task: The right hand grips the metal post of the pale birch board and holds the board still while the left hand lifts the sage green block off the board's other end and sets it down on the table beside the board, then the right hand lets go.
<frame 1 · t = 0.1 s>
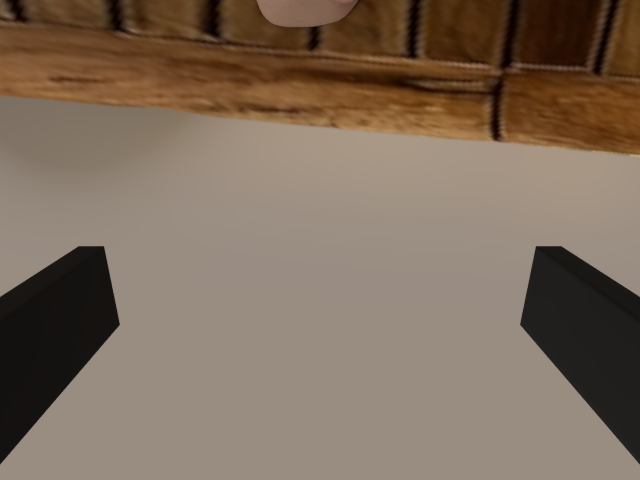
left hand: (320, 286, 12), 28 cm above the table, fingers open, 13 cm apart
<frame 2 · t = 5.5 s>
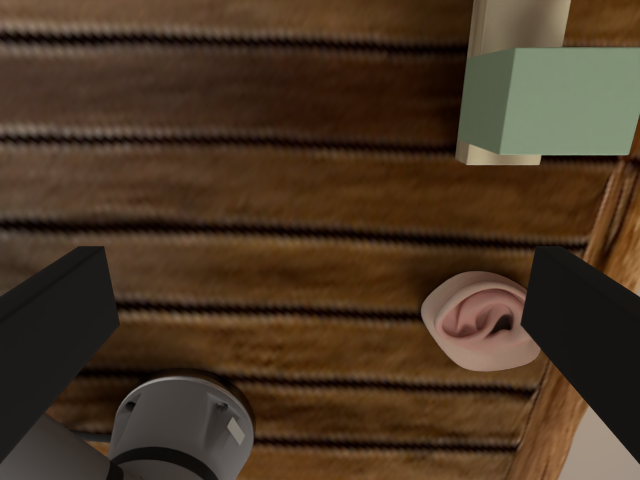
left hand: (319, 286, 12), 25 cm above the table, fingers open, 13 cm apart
anatomical model: (485, 321, 41), on the table
green block: (513, 100, 31), point 3 cm above the table, touching birch board
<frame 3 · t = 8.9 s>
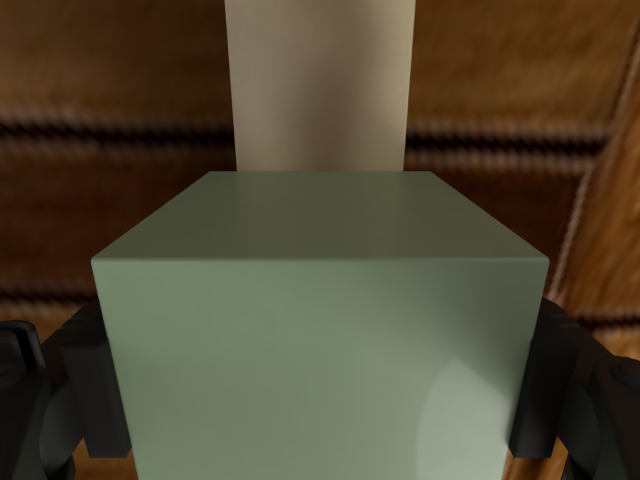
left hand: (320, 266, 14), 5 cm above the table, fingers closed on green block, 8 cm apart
green block: (320, 248, 15), point 3 cm above the table, touching birch board, left hand
when the left hand's fingers open (4 cm above the table, at t = 15.5 s): green block drops 2 cm, on the table.
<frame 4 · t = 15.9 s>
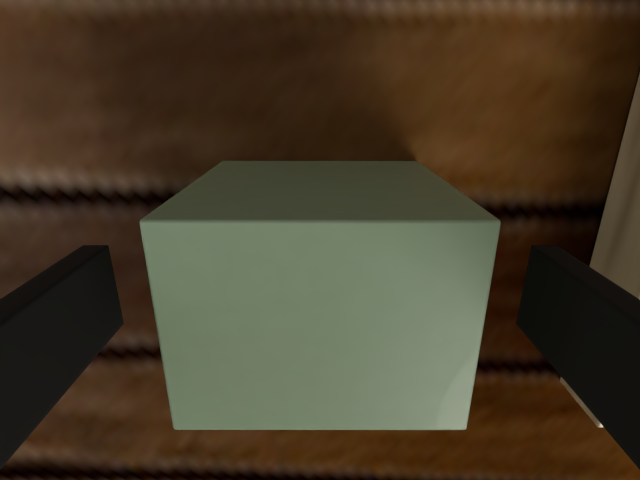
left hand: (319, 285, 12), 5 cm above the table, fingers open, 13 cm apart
green block: (320, 230, 17), on the table
when the right hand's fingers open (5 cm above the table, at t = 18.5 s): birch board stays where it is, on the table.
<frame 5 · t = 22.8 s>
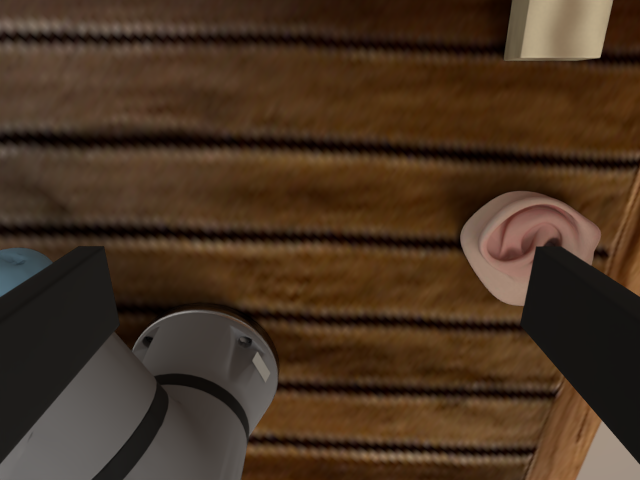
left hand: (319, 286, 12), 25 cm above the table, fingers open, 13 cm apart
anatomical model: (529, 249, 39), on the table
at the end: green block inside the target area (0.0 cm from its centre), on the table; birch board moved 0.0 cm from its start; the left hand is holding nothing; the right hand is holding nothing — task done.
